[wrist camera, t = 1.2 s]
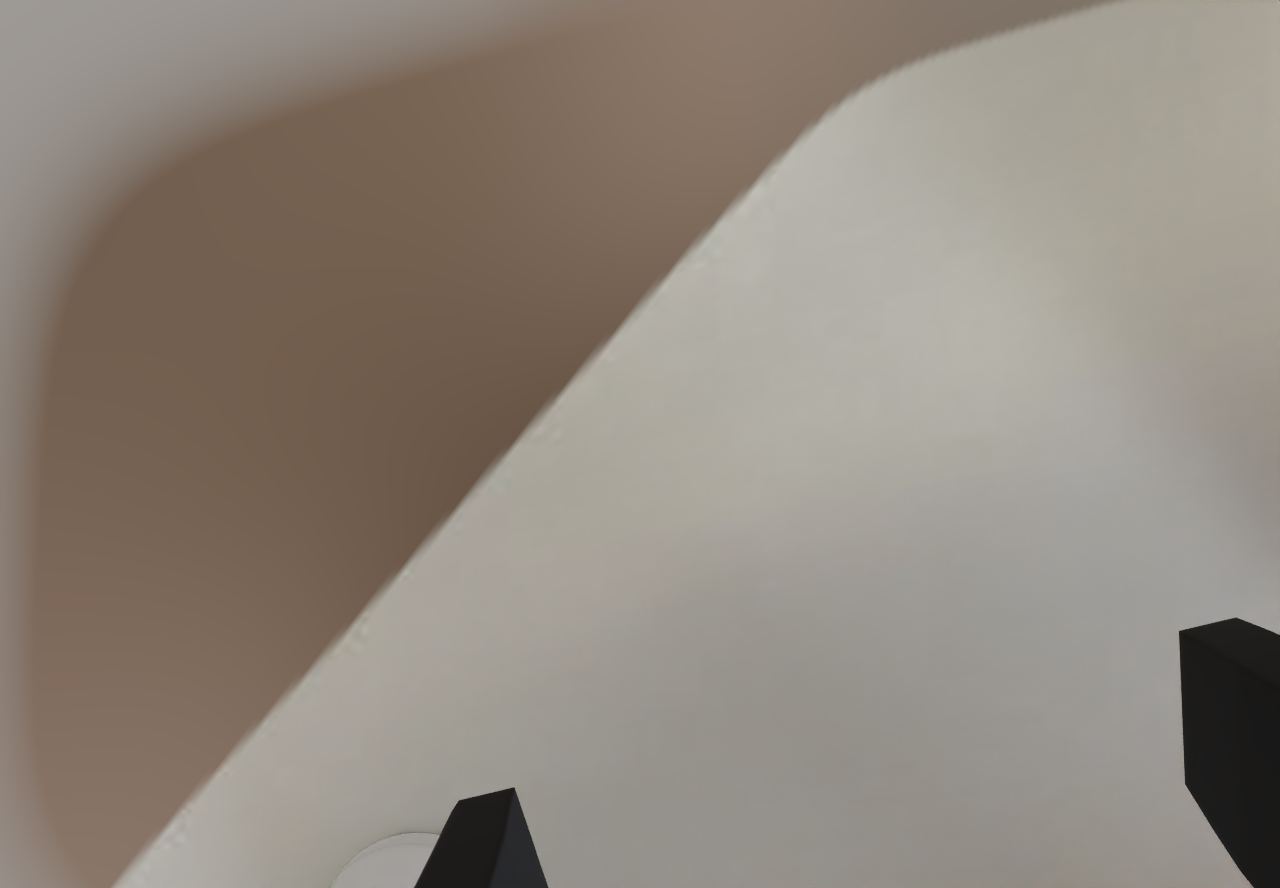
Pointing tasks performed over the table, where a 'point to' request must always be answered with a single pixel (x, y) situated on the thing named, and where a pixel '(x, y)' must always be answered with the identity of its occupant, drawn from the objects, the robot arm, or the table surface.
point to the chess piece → (388, 863)
